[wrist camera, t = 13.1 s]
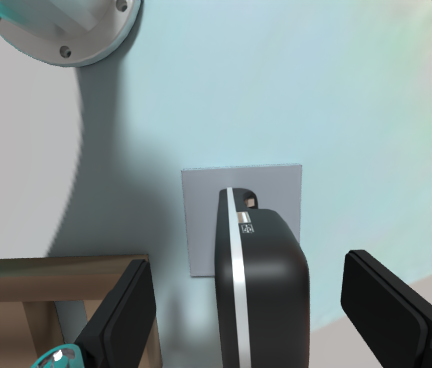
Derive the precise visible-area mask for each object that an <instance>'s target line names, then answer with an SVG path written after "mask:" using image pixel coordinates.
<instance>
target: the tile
mask: <svg viewBox="0 0 432 368" xmlns="http://www.w3.org/2000/svg"><path fill="white" fill-rule="evenodd" d="M181 173H182V185H183V196H184V207H185V219H186V230H187V241H188V253H189V264H190V276H215V268H214V253H215V237H216V223H217V213H218V204H219V192H220V190H222V189H227V188H230V187H232V188H245V189H249V190H251V191H253V192H254V193H255V194H256V196H257V200H258V209H270V210H274V211H276V212H277V213H278V214H279V215H280V216H281V217H282V218H283V220H284V221H285V222H286V223H287V225H288V226H289V228H290V229H291V231H292V233H293V234H294V236H295V238H296V240H297V241H298V243H299V245H300V215H301V182H302V165H301V164H277V165H256V166H236V167H215V168H194V169H183V170H182V171H181Z"/></svg>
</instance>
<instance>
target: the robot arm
mask: <svg viewBox="0 0 432 368" xmlns="http://www.w3.org/2000/svg"><path fill="white" fill-rule="evenodd" d="M140 3H141V0H0V35H1V36H2V37H3V38H4V39H5V40H6V41H7V42H8V43H10V44H11V45H12V46H14V47H15V48H16V49H18V50H19V51H21V52H23V53H25V54H27V55H28V56H30V57H32V58H34V59H37V60H40V61H42V62H45V63H47V64H50V65H55V66H60V67H81V66H85V65H89V64H93V63H95V62H97V61H99V60H101V59H103V58H105V57H107V56H108V55H109V54H110V53H112V52H113V51H114V50H115V49H117V48H118V47H119V45H120V44H121V43H122V42H123V40H124V39H125V38H126V37H127V35H128V34H129V32H130V30H131V28H132V26H133V24H134V22H135V20H136V17H137V14H138V10H139V7H140ZM125 9H126V11H125ZM341 306H342V309H343V310H344V312H345V313H346V315H347V316H348V318H349V319H350V321H351V322H352V323H353V325H354V326H355V327H356V329H357V331H358V332H359V333H360V335H361V336H362V338H363V339H364V341H365V342H366V343H367V345H368V347H369V348H370V349H371V351H372V352H373V353H374V355H375V357H376V358H377V359H378V361H379V362H380V364H381V365H382V367H383V368H432V305H431V304H430V303H429V302H427V301H426V300H425V299H424V298H422V297H421V296H420V295H419V294H418V293H417V292H415V291H414V290H413V289H412V288H410V287H409V286H408V285H407V284H406V283H404V282H403V281H402V280H401V279H399V278H398V277H397V276H396V275H395V274H393V273H392V272H391V271H390V270H389V269H387V268H386V267H385V266H384V265H382V264H381V263H380V262H379V261H378V260H376V259H375V258H374V257H373V256H371V255H370V254H369V253H368V252H367V251H365V250H350V251H349V252H348V253H347V254H346V255H345V263H344V272H343V282H342V292H341ZM155 316H156V303H155V296H154V289H153V283H152V276H151V269H150V263H149V262H146V260H145V259H133V260H132V261H131V262H130V263H129V265H128V266H127V268H126V270H125V271H124V273H123V274H122V276H121V277H120V279H119V280H118V282H117V283H116V285H115V286H114V288H113V289H112V290H110V291H109V292H108V293H107V295H106V296H105V298H104V299H103V301H102V302H101V304H100V305H99V307H98V308H97V310H96V311H95V313H94V314H93V316H92V317H91V319H90V320H89V322H88V323H87V325H86V326H85V328H84V329H83V330H82V332H81V333H80V335H79V336H78V338H77V339H76V341H75V342H74V344H64V345H60V346H58V347H55V348H53V349H51V350H50V351H48V352H47V353H45V354H44V355H42V356H41V357H40V358H39V359H38V360H37V361H36V362H35V363H34V364H33V365H32V366H31V368H138V367H139V364H140V361H141V358H142V355H143V352H144V349H145V346H146V343H147V340H148V337H149V334H150V331H151V328H152V325H153V322H154V319H155Z"/></svg>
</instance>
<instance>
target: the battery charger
mask: <svg viewBox="0 0 432 368" xmlns="http://www.w3.org/2000/svg"><path fill="white" fill-rule="evenodd" d="M214 268H215V288H216V299H217V310H218V320H219V331H220V341H221V350H222V360H223V368H308V366H309V345H310V278H309V268H308V264H307V260H306V257H305V255H304V253H303V251H302V249H301V247H300V245H299V243H298V241H297V240H296V238H295V236H294V234H293V233H292V231H291V229H290V228H289V226H288V225H287V223H286V222H285V221H284V220H283V218H282V217H281V216H280V215H279V214H278V213H277V212H276V211H274V210H270V209H258V200H257V196H256V194H255V193H254V192H253V191H251V190H249V189H245V188H232V187H230V188H227V189H222V190H220V192H219V204H218V213H217V223H216V237H215V253H214Z"/></svg>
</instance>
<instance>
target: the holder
mask: <svg viewBox="0 0 432 368" xmlns="http://www.w3.org/2000/svg"><path fill="white" fill-rule="evenodd" d="M133 259H145V260H146V262H149V259H148V254H146V255H113V256H81V257H48V258H17V259H16V258H15V259H0V368H31V366H32V365H33V364H34V363H35V362H36V361H37V360H38V359H39V358H40V357H41V356H42V355H44V354H45V353H47V352H48V351H50V350H51V349H53V348H55V347H58V346H60V345H64V340H63V336H62V332H61V328H60V324H59V320H58V316H57V312H56V308H55V303H54V301H76V300H83V302H84V306H85V311H86V316H87V321H88V322H89V320H90V319H91V317H92V316H93V314H94V313H95V311H96V310H97V308H98V307H99V305H100V304H101V302H102V301H103V299H104V298H105V296H106V295H107V293H108V292H109V291H110V290H112V289H113V288H114V286H115V285H116V283H117V282H118V280H119V279H120V277H121V276H122V274H123V273H124V271H125V270H126V268H127V266H128V265H129V263H130V262H131V261H132V260H133ZM138 368H162V358H161V350H160V343H159V335H158V328H157V320H156V316H155V319H154V322H153V325H152V328H151V331H150V334H149V337H148V340H147V343H146V346H145V349H144V352H143V355H142V358H141V361H140V364H139V367H138Z"/></svg>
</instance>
